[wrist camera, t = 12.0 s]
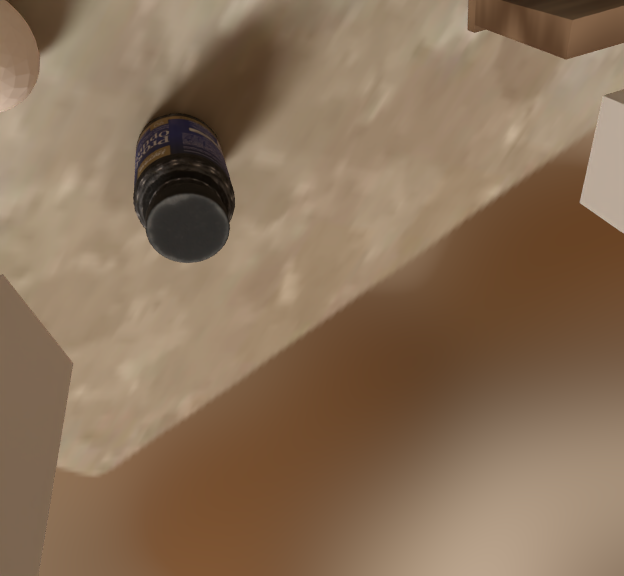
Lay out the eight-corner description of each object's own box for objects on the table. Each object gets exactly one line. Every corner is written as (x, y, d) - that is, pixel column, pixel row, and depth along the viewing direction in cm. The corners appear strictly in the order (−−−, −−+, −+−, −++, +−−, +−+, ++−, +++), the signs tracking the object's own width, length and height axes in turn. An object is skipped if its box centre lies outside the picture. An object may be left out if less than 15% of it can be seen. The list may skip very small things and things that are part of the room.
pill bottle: (152, 96, 33) (154, 162, 25) (234, 132, 36) (260, 202, 28) (124, 173, 36) (117, 256, 27) (202, 202, 39) (217, 284, 30)
